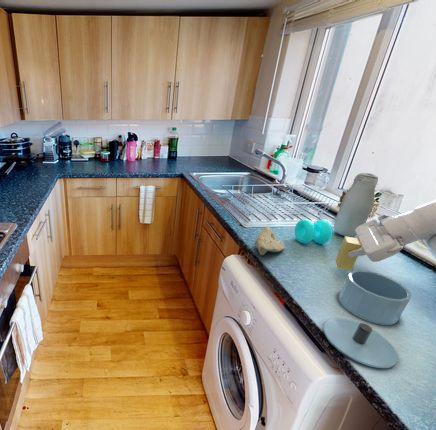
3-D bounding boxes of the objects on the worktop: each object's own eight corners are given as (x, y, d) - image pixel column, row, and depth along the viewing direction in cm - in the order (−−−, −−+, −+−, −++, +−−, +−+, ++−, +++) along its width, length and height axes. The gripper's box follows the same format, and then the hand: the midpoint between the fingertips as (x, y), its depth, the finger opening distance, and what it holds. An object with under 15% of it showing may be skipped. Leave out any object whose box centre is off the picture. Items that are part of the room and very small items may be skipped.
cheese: (267, 245, 120) (244, 224, 117) (284, 238, 116) (260, 216, 112) (270, 274, 110) (245, 252, 106) (289, 267, 105) (263, 244, 101)
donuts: (290, 235, 124) (297, 215, 120) (314, 236, 124) (321, 215, 120) (303, 247, 115) (311, 225, 111) (328, 248, 115) (337, 226, 111)
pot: (390, 301, 87) (402, 279, 83) (404, 332, 76) (419, 307, 73) (336, 287, 93) (345, 265, 89) (342, 313, 82) (353, 289, 79)
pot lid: (386, 335, 75) (395, 319, 73) (404, 381, 63) (416, 363, 61) (320, 314, 82) (326, 298, 79) (325, 352, 70) (333, 335, 68)
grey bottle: (351, 231, 130) (375, 171, 118) (363, 241, 121) (391, 178, 109) (326, 228, 132) (348, 169, 120) (336, 238, 123) (361, 176, 111)
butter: (349, 263, 100) (359, 238, 96) (351, 271, 96) (362, 245, 92) (335, 260, 102) (344, 235, 98) (337, 267, 98) (347, 242, 94)
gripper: (414, 255, 80) (358, 273, 88) (393, 227, 96) (347, 244, 105) (400, 237, 80) (345, 257, 88) (381, 212, 96) (337, 231, 105)
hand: (346, 250), depth 97 cm, fingers closed on butter, 5 cm apart
